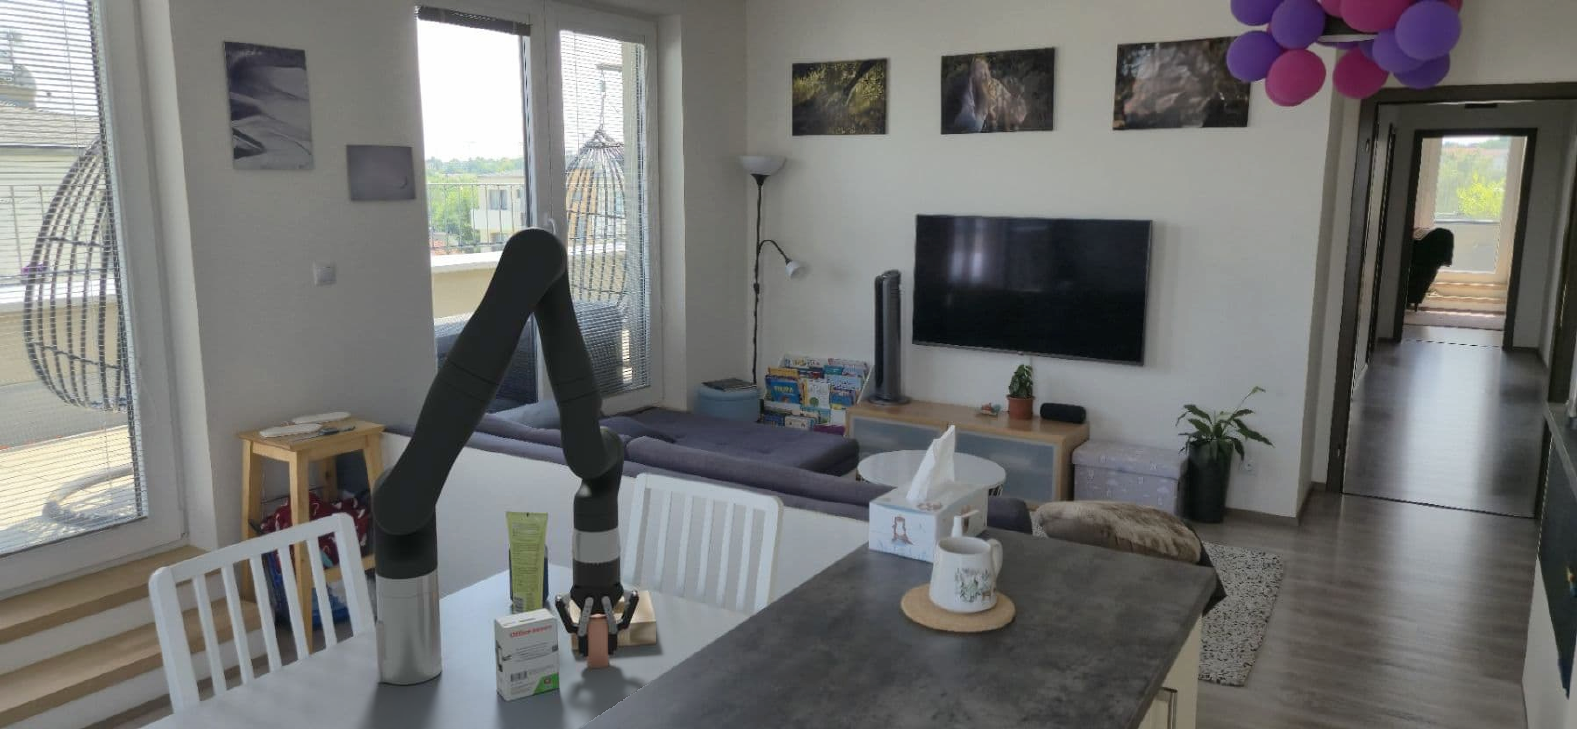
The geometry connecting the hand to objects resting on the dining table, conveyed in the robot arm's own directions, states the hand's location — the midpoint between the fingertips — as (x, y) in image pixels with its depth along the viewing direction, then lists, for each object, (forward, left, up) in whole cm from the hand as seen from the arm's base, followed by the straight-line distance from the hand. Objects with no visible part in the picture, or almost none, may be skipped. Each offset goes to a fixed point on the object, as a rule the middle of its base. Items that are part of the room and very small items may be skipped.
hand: (597, 653), depth 180 cm
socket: (+3, +13, -2) cm, 13 cm away
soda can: (-11, +28, -2) cm, 30 cm away
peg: (0, 0, -2) cm, 2 cm away
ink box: (-11, -7, -2) cm, 13 cm away
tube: (-11, +21, -2) cm, 24 cm away
